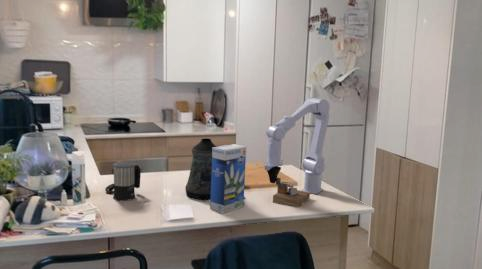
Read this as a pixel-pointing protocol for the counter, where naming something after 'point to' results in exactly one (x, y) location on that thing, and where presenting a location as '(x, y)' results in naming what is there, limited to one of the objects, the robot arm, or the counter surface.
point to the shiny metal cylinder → (292, 191)
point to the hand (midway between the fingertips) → (272, 182)
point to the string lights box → (228, 177)
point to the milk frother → (125, 180)
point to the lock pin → (278, 180)
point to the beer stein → (200, 171)
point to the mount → (288, 199)
